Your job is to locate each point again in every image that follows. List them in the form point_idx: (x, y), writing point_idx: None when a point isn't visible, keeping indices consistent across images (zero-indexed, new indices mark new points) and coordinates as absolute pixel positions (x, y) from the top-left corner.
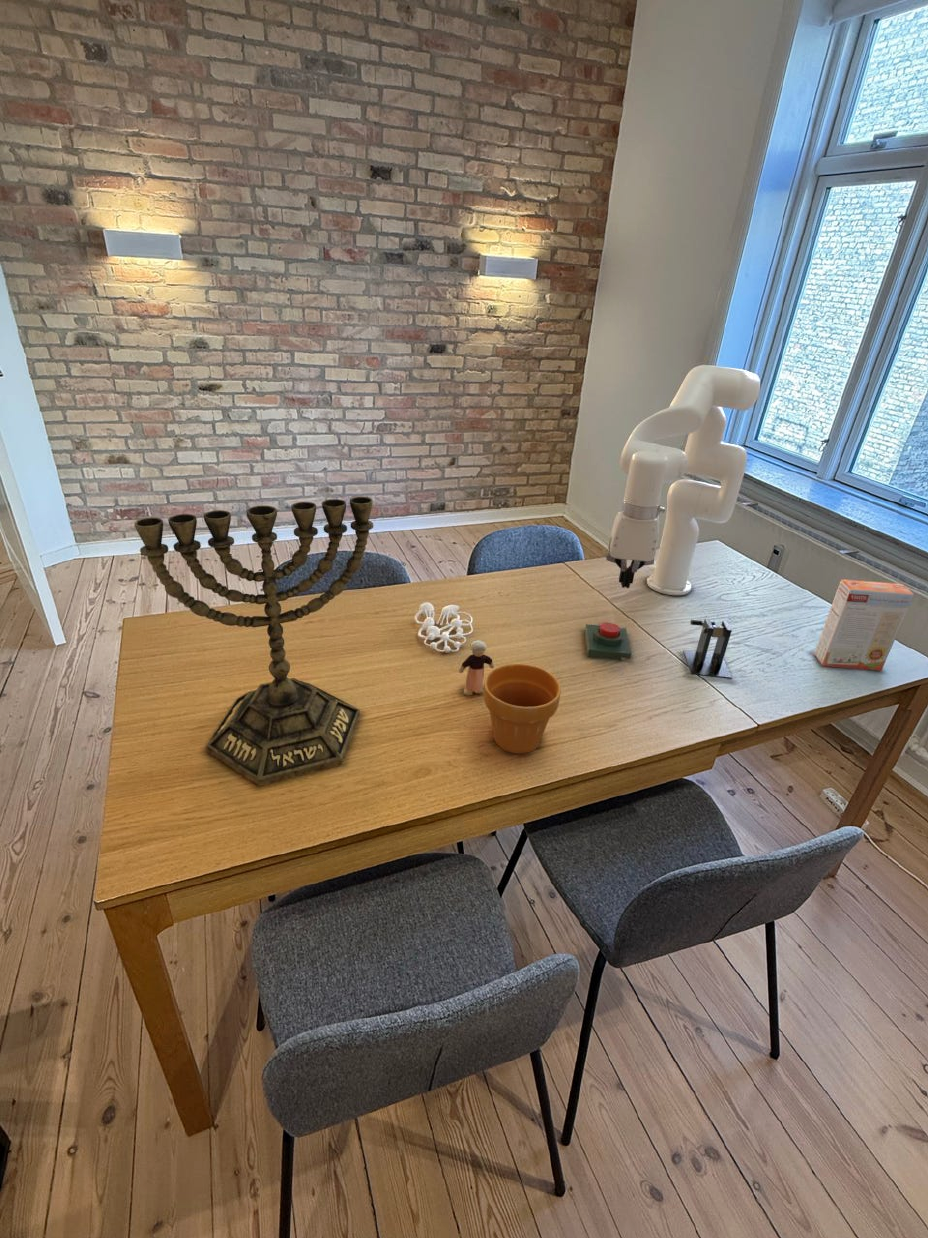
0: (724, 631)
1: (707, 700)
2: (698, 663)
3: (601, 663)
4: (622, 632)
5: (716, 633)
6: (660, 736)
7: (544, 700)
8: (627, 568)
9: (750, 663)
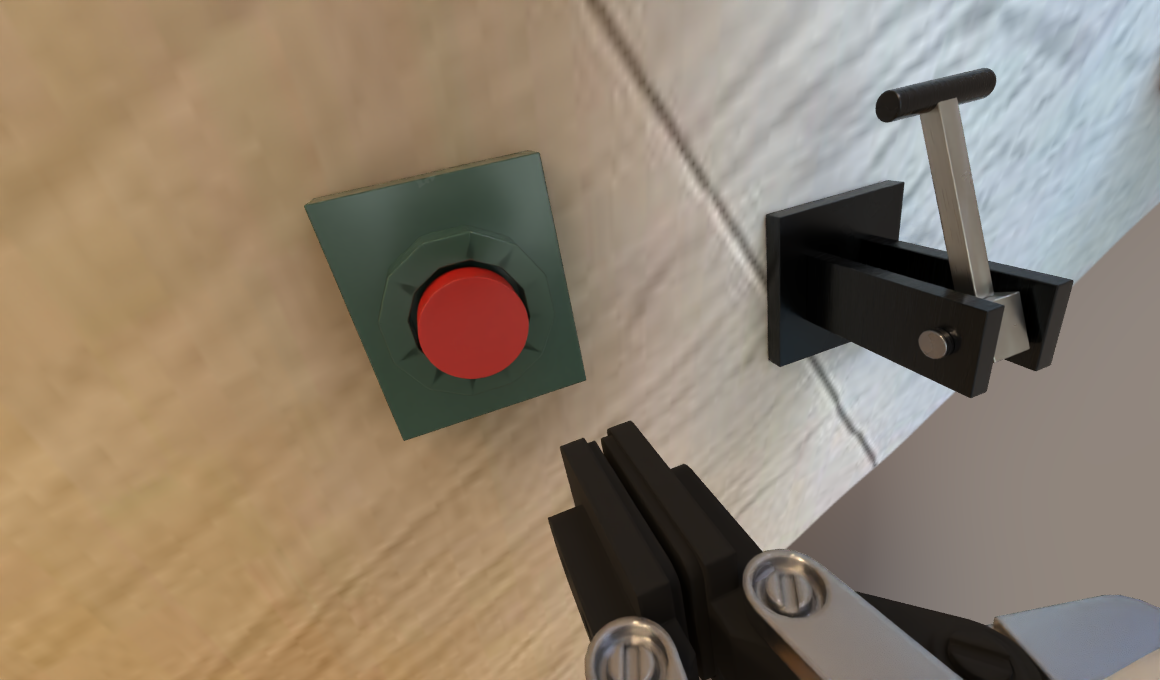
0: None
1: (792, 444)
2: (815, 317)
3: (471, 429)
4: (538, 291)
5: None
6: None
7: None
8: (688, 576)
9: None
